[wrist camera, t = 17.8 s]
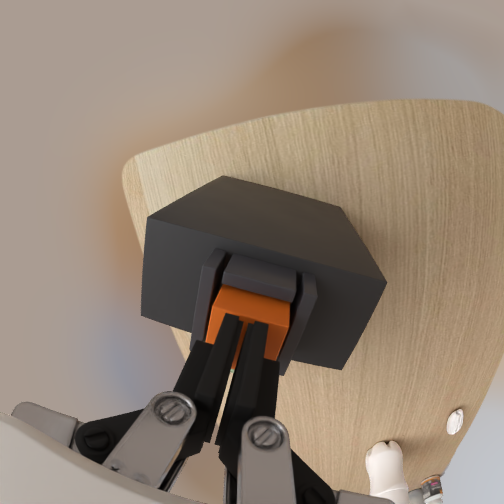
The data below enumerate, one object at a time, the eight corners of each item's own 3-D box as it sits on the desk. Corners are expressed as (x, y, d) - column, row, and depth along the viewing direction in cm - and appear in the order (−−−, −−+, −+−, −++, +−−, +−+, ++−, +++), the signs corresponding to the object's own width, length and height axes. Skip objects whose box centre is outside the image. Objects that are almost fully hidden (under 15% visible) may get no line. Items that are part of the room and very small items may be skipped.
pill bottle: (442, 473, 47) (448, 500, 38) (431, 481, 49) (436, 507, 40) (427, 476, 48) (433, 504, 38) (416, 484, 50) (421, 511, 41)
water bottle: (398, 449, 42) (411, 553, 19) (364, 458, 44) (369, 563, 21) (401, 433, 40) (419, 549, 17) (364, 442, 41) (371, 560, 18)
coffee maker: (222, 175, 28) (125, 229, 12) (340, 207, 28) (399, 303, 11) (197, 308, 34) (133, 427, 18) (294, 334, 34) (286, 469, 17)
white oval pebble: (462, 403, 36) (466, 414, 33) (456, 424, 38) (460, 434, 36) (447, 409, 37) (452, 420, 34) (443, 430, 39) (446, 440, 36)
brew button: (224, 279, 13) (211, 306, 11) (290, 297, 13) (289, 327, 11) (213, 331, 14) (201, 360, 12) (272, 347, 14) (268, 378, 12)
